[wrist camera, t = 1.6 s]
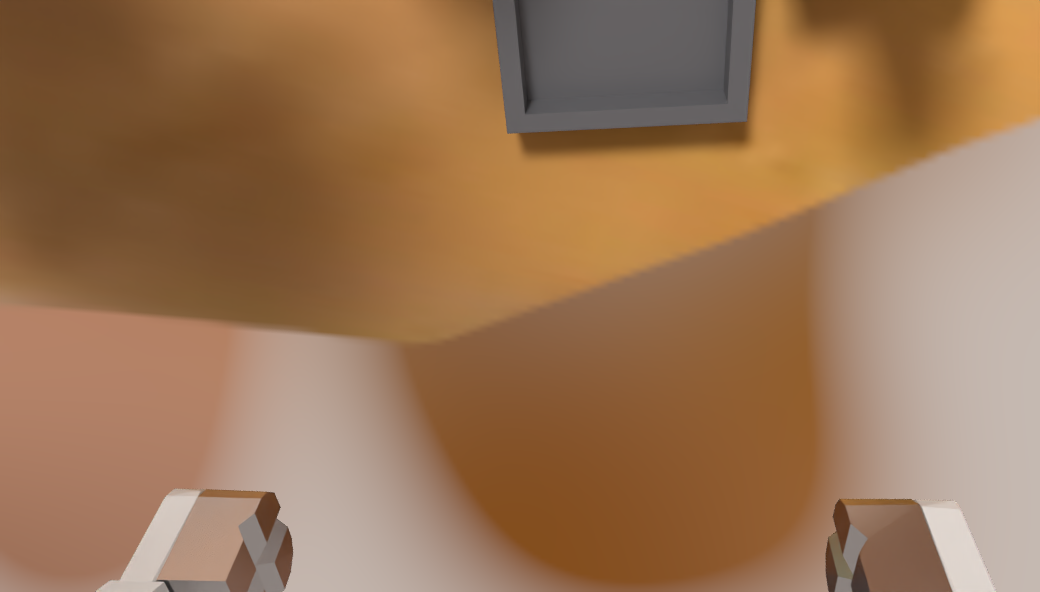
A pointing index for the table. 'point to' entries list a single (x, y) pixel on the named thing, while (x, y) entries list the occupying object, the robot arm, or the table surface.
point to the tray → (623, 62)
